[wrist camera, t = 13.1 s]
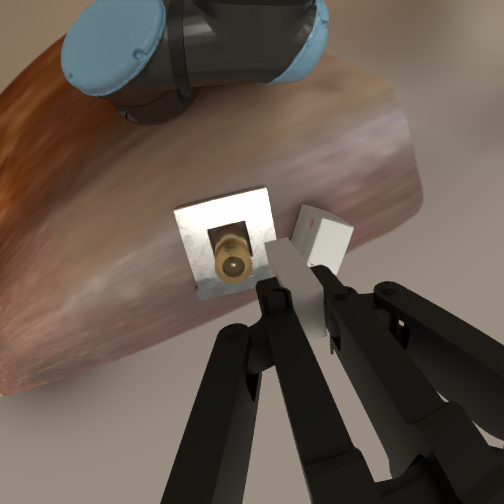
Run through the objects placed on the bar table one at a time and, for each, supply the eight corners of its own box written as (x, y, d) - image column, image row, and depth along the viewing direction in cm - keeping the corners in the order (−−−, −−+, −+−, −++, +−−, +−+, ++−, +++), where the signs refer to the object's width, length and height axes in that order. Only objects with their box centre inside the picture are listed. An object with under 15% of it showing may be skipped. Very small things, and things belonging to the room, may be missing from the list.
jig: (176, 207, 44) (170, 215, 39) (263, 186, 45) (269, 191, 40) (200, 285, 50) (198, 301, 45) (279, 266, 50) (286, 280, 45)
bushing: (219, 255, 48) (220, 287, 37) (212, 228, 46) (210, 254, 35) (247, 248, 48) (256, 279, 37) (241, 221, 47) (248, 245, 35)
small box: (315, 251, 50) (337, 276, 40) (287, 245, 49) (304, 269, 39) (329, 211, 48) (355, 227, 38) (301, 202, 46) (322, 217, 37)
